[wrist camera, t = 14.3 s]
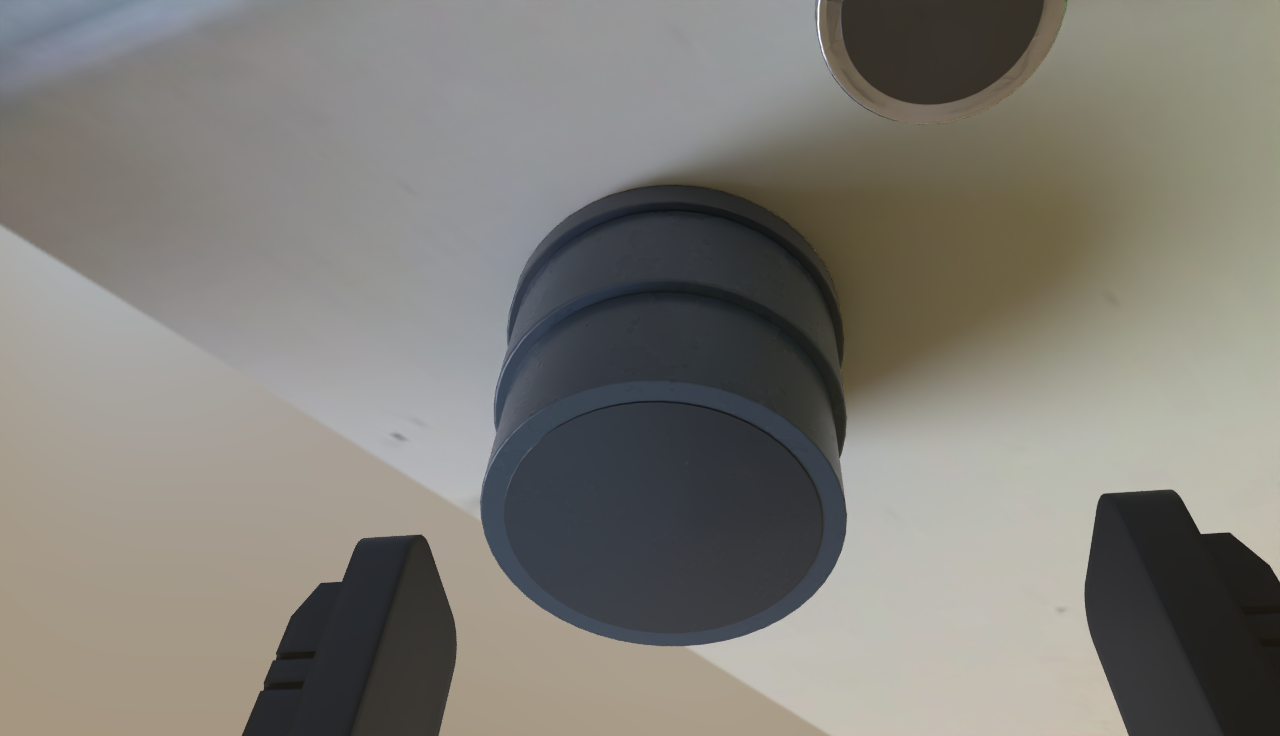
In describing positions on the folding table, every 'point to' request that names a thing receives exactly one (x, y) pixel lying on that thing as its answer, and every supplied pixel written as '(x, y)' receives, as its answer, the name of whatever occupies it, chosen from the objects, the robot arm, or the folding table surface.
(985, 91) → the silver cup
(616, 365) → the grey stepped cylinder
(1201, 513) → the folding table surface
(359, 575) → the robot arm
